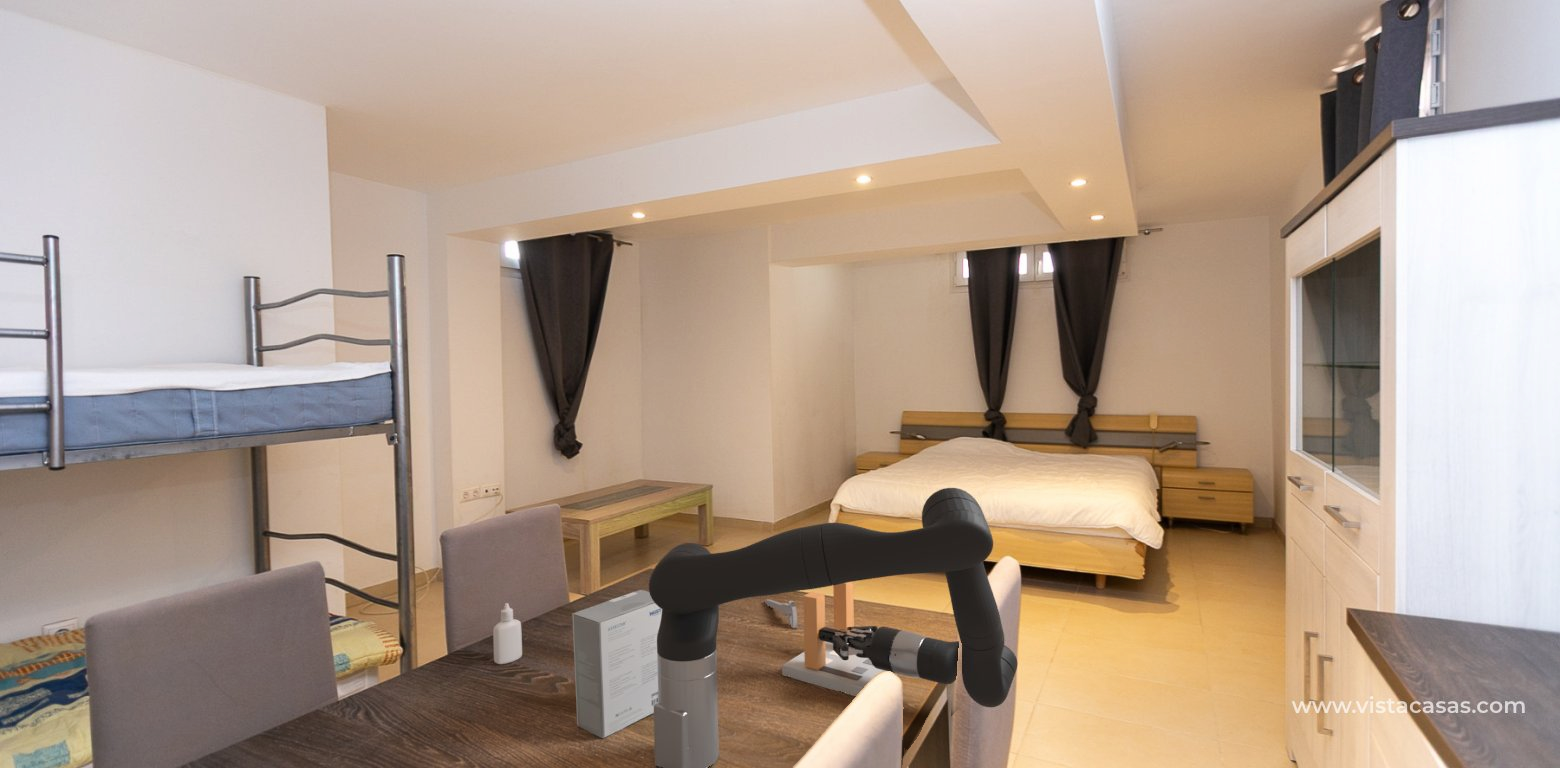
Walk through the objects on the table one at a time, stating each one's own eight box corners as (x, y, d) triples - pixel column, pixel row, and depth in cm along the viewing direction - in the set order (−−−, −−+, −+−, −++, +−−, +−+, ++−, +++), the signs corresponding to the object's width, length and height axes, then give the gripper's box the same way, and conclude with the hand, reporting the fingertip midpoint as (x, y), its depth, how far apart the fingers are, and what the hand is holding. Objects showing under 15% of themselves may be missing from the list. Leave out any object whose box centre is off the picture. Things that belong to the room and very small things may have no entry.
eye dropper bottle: (493, 658, 153) (492, 602, 153) (521, 653, 156) (520, 598, 155) (494, 666, 149) (492, 608, 149) (523, 661, 151) (521, 604, 151)
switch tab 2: (846, 651, 148) (845, 583, 148) (834, 648, 150) (833, 581, 150) (854, 646, 151) (853, 580, 150) (841, 643, 152) (840, 577, 152)
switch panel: (862, 698, 132) (862, 687, 132) (782, 675, 143) (782, 664, 142) (903, 665, 146) (903, 655, 146) (827, 646, 156) (827, 637, 156)
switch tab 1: (817, 670, 139) (816, 598, 139) (804, 666, 141) (803, 595, 141) (825, 664, 142) (824, 594, 141) (812, 661, 144) (811, 591, 143)
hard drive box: (645, 693, 136) (642, 588, 135) (672, 704, 131) (670, 596, 130) (574, 726, 124) (571, 611, 123) (602, 740, 119) (598, 621, 118)
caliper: (797, 629, 167) (797, 603, 167) (793, 630, 167) (792, 603, 167) (767, 602, 186) (767, 578, 186) (763, 603, 186) (763, 579, 186)
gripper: (917, 620, 136) (838, 604, 146) (884, 643, 125) (801, 624, 135) (917, 660, 136) (838, 641, 146) (885, 686, 125) (802, 664, 135)
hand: (821, 633), depth 140 cm, fingers closed
